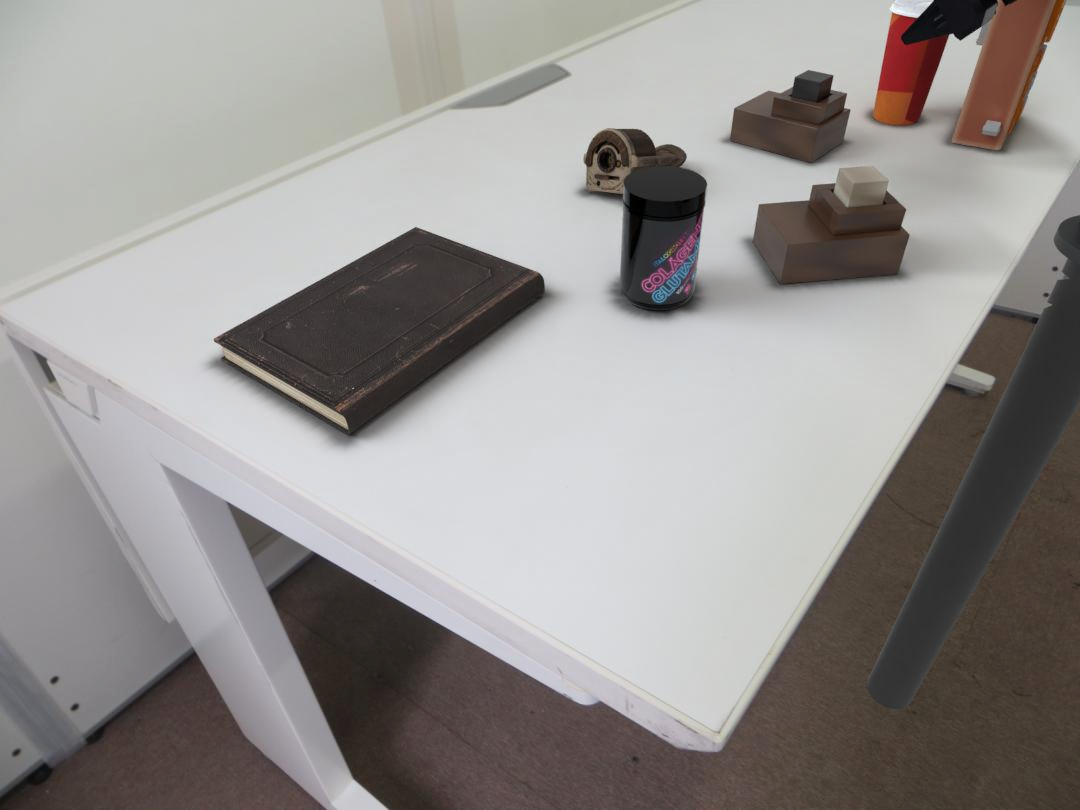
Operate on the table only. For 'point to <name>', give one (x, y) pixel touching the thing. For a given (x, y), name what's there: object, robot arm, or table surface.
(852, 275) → the brown push button box
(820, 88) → the black key
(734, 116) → the push button base
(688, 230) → the supplement container
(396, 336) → the hardcover book
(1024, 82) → the control panel
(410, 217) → the table surface
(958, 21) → the robot arm
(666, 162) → the mechanical counter
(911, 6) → the paper cup
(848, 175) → the ivory key
